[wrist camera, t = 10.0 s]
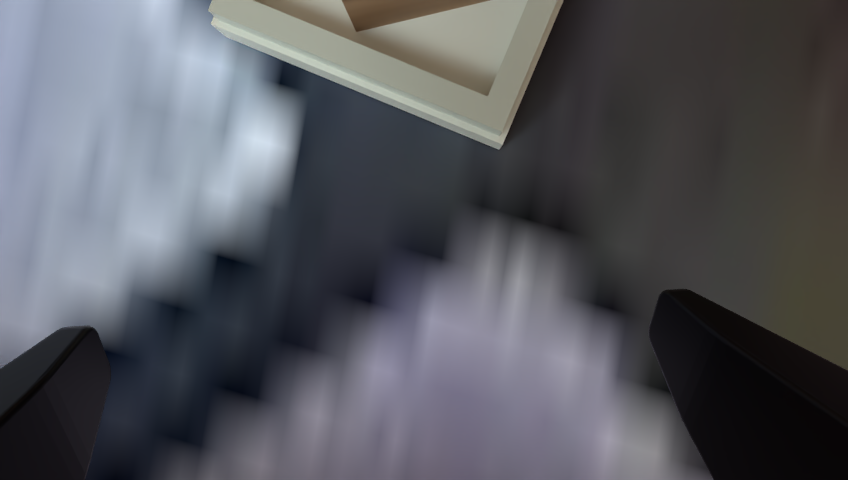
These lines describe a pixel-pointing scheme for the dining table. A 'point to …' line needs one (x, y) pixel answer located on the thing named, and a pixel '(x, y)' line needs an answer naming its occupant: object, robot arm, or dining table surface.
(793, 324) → the dining table surface
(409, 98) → the cream square tray
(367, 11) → the walnut post
